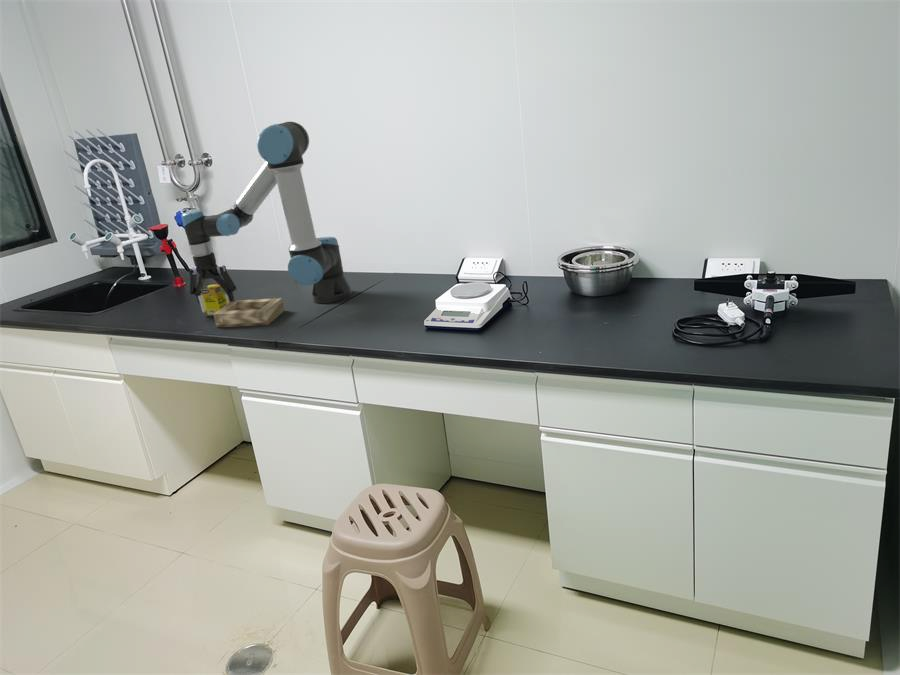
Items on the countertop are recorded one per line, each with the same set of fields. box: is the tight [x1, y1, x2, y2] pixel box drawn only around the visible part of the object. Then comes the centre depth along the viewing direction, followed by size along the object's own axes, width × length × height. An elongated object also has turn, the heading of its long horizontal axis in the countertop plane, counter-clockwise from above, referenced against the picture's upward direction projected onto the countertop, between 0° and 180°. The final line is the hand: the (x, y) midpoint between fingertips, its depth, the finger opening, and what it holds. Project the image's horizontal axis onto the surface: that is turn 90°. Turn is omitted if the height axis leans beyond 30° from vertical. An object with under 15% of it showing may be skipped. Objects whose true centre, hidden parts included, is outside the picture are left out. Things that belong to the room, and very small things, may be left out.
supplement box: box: [201, 283, 228, 318], centre depth 241 cm, size 6×6×11 cm
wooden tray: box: [213, 297, 286, 328], centre depth 232 cm, size 20×14×5 cm
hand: (218, 310), depth 243 cm, fingers open, 11 cm apart
